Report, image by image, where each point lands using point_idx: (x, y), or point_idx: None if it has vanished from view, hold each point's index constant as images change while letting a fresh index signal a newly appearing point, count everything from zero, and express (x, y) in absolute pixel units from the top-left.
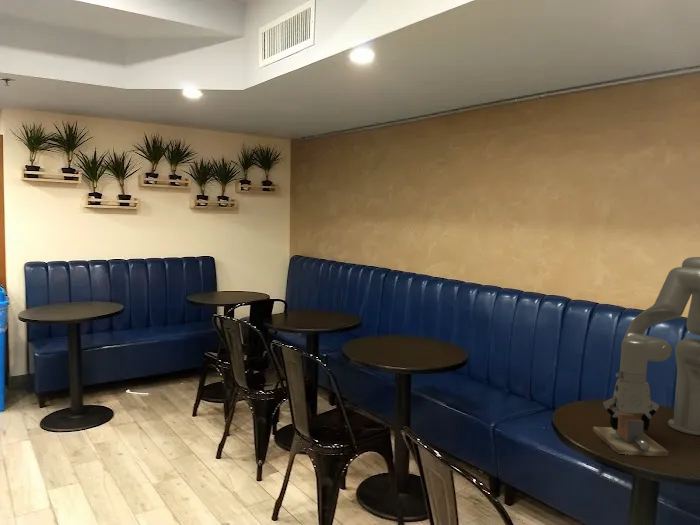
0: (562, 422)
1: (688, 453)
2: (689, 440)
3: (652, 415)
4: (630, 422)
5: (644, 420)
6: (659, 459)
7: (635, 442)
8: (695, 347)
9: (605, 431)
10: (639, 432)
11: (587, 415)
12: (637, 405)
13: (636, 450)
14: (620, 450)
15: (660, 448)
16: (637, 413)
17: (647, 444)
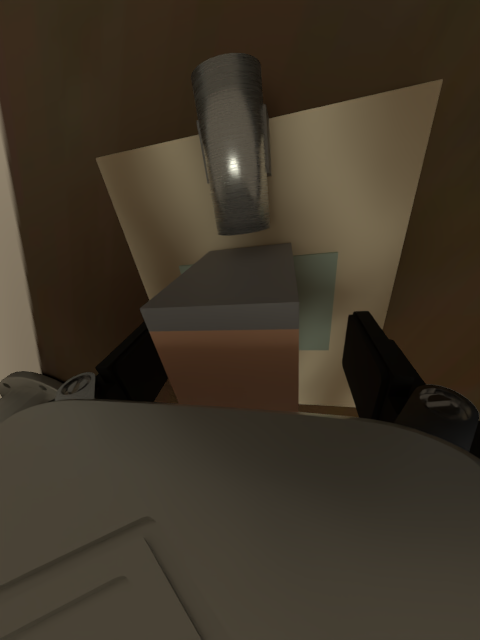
0: None
1: (37, 226)
2: (48, 341)
3: (53, 400)
4: (284, 297)
5: (138, 372)
6: (162, 86)
7: (267, 189)
8: None
9: (334, 370)
10: (210, 269)
11: None
12: (61, 601)
13: (287, 114)
14: (423, 83)
15: (130, 200)
16: (162, 403)
17: (204, 67)
